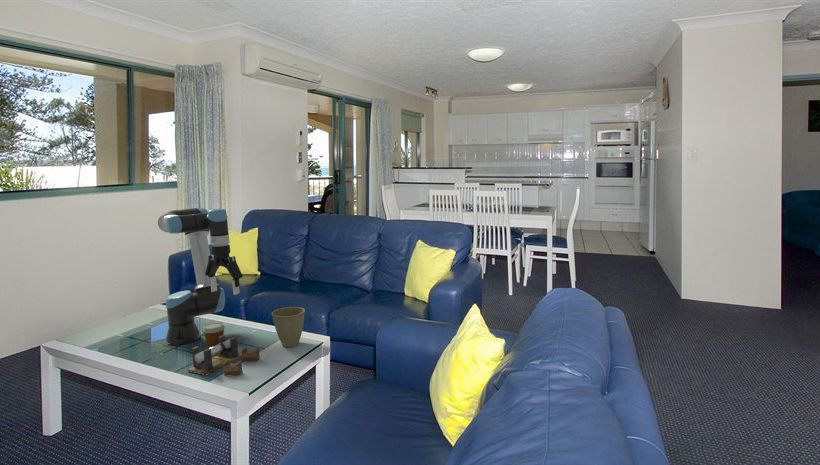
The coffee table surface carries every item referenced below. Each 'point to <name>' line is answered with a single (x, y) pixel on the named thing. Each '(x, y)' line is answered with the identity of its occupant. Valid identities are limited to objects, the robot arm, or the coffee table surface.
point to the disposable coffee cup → (213, 333)
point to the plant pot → (289, 325)
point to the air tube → (214, 351)
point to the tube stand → (236, 368)
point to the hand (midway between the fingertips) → (225, 292)
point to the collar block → (217, 361)
